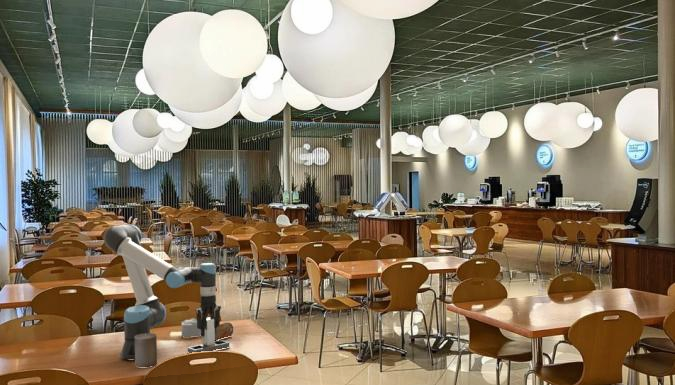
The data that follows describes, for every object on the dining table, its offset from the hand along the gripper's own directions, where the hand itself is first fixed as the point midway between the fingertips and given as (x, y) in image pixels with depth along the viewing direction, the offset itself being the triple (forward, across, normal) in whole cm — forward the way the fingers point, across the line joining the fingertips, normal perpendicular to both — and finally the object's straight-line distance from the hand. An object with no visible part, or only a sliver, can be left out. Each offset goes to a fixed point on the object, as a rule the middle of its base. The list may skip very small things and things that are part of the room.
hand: (208, 341), depth 291 cm
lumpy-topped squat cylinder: (+5, +11, +33) cm, 35 cm away
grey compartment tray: (+5, 0, 0) cm, 5 cm away
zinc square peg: (+3, 0, 0) cm, 3 cm away
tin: (+5, +17, +15) cm, 23 cm away
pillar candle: (+5, -33, 0) cm, 33 cm away
